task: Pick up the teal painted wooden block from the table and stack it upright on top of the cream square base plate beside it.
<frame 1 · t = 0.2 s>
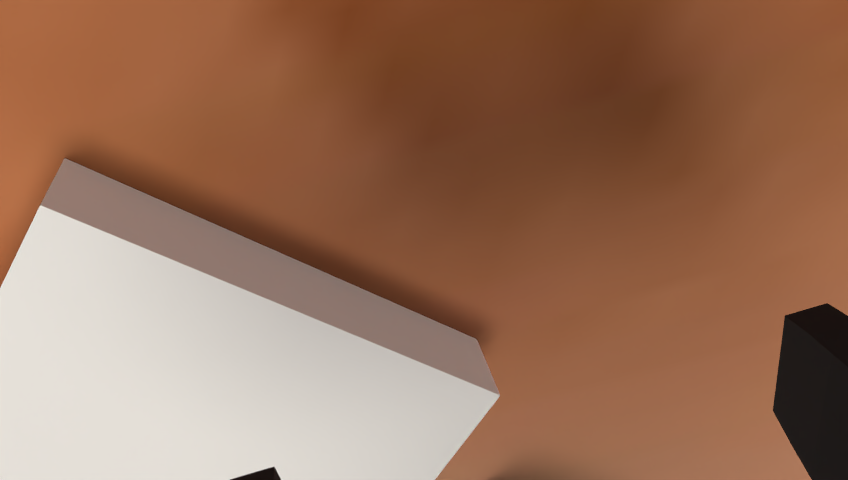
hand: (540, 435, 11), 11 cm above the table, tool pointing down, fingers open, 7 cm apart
cream base plate: (193, 412, 24), on the table
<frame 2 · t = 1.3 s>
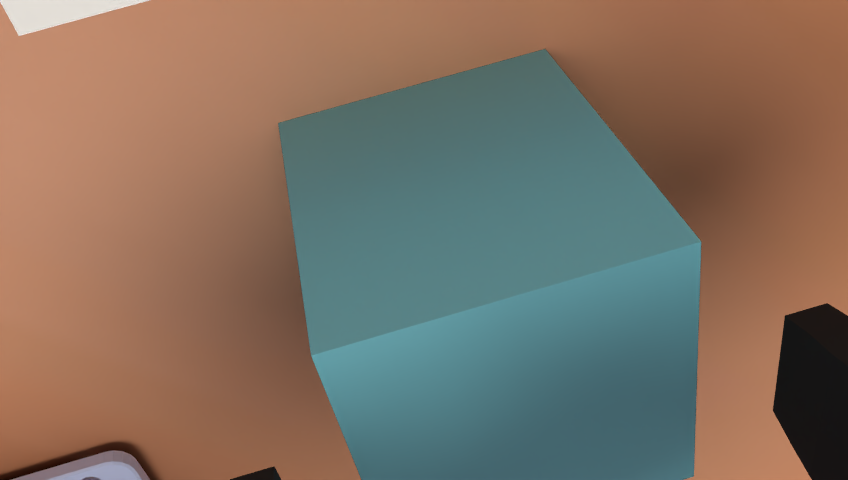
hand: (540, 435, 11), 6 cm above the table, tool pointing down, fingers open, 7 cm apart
teal block: (436, 194, 16), on the table
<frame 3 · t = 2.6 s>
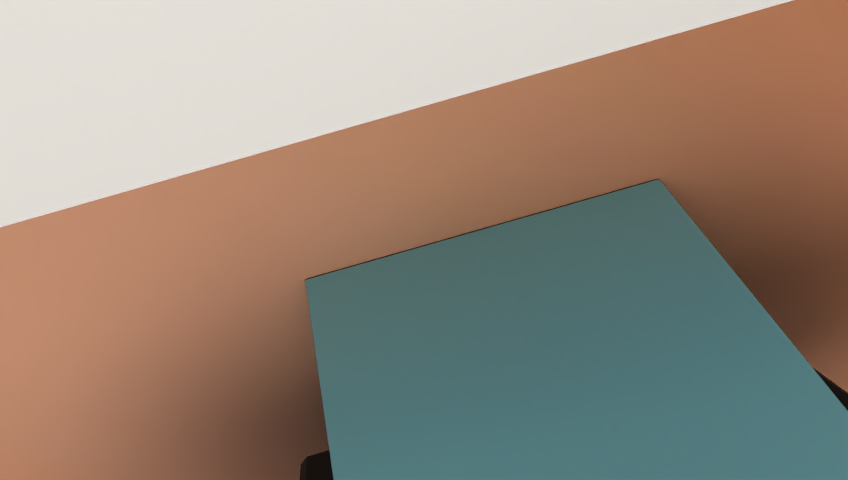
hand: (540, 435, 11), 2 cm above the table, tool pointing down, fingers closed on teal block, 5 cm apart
teal block: (506, 353, 13), on the table, touching gripper
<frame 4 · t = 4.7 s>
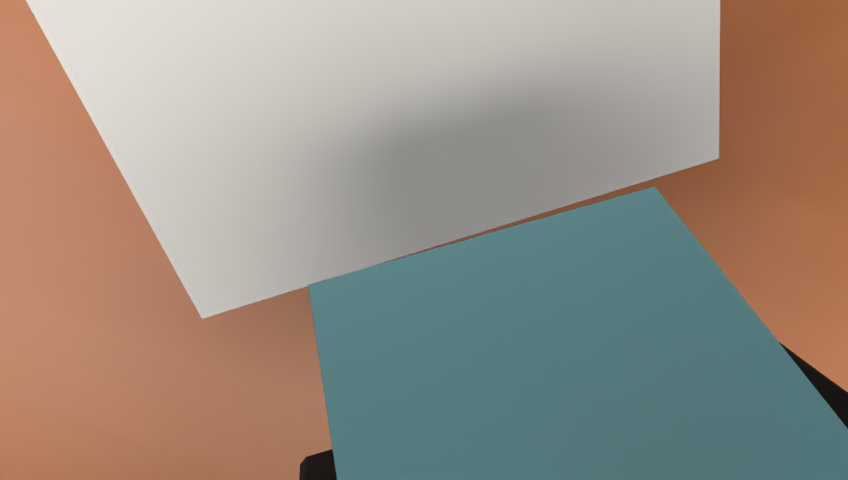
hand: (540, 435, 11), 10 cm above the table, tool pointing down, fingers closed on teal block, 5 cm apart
teal block: (505, 356, 13), point 8 cm above the table, touching gripper
when the fingers open (6 cm above the table, at t = 6.7 s): teal block drops 2 cm, resting on cream base plate.
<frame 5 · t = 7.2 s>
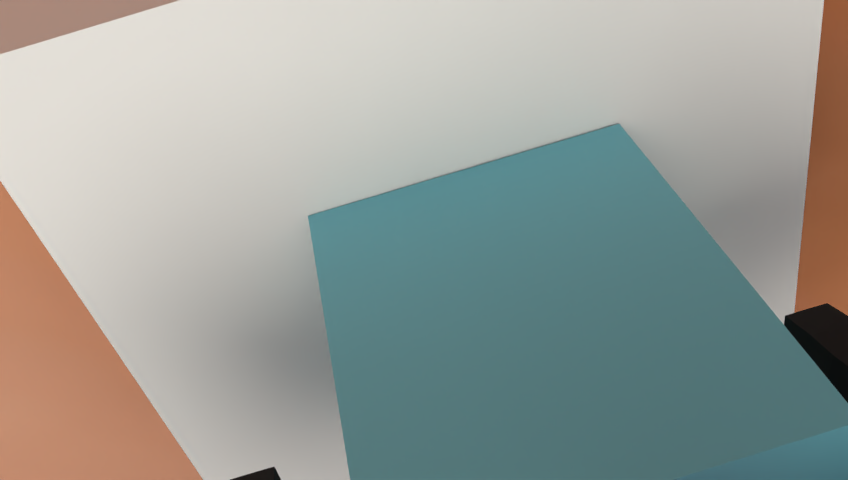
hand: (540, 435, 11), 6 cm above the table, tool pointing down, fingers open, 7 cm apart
teal block: (489, 286, 14), point 2 cm above the table, touching cream base plate
cream base plate: (439, 187, 16), on the table, touching teal block
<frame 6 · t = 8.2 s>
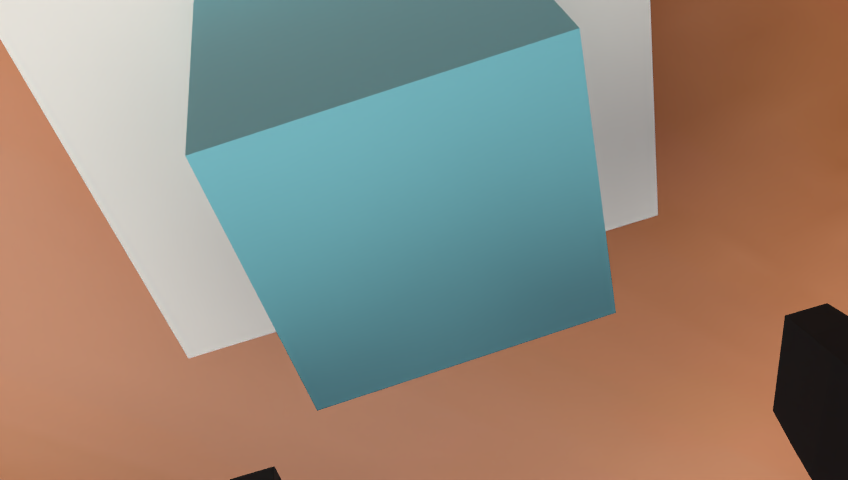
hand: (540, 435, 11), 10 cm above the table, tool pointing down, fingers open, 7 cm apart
teal block: (367, 64, 16), point 2 cm above the table, touching cream base plate
cream base plate: (343, 12, 18), on the table, touching teal block
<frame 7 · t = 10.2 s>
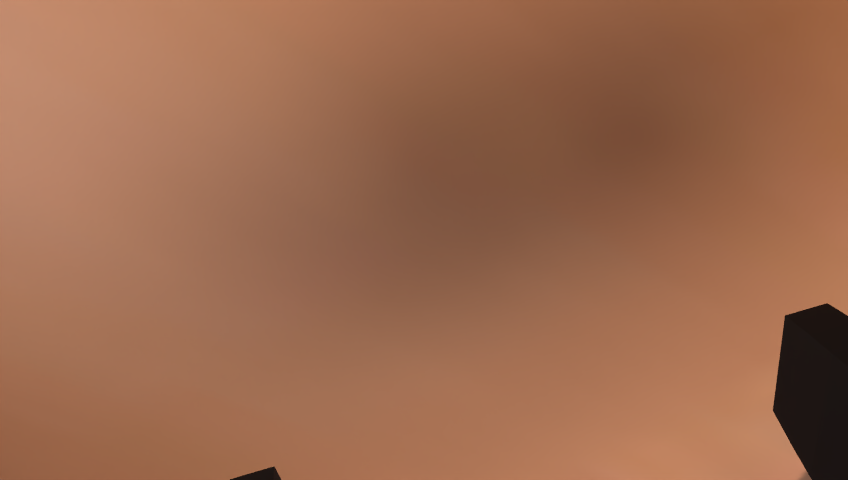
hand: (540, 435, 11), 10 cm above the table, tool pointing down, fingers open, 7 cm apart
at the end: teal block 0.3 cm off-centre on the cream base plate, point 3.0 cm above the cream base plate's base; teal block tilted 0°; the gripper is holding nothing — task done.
